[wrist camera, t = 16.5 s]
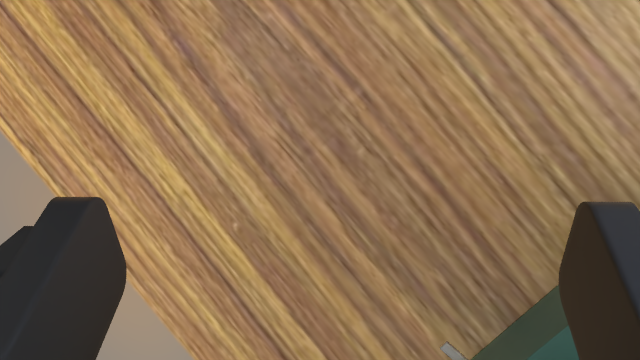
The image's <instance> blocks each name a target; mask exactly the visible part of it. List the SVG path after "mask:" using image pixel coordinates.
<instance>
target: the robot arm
mask: <svg viewBox="0 0 640 360" xmlns="http://www.w3.org/2000/svg"><path fill="white" fill-rule="evenodd" d="M125 283H126V262H125V258H124V255H123V252H122V249H121V246H120V243H119V240H118V237H117V234H116V231H115V229H114V226H113V223H112V220H111V217H110V214H109V211H108V208H107V206H106V204H105V202H104V201H103V199H101V198H99V197H55V198H53V199H52V200H51V201H50V202H49V203H48V205H47V206H46V208H45V210H44V211H43V213H42V214H41V216H40V217H39V219H38V221H37V222H36V224H35V225H34V226H24V227H23V228H21V229H20V230H19V231H18V232H16V233H15V234H14V235H13V236H12V237H10V238H9V239H8V240H7V241H5V242H4V243H3V244H2V245H1V246H0V360H96V357H97V355H98V353H99V350H100V348H101V345H102V343H103V341H104V338H105V335H106V333H107V331H108V329H109V326H110V324H111V321H112V319H113V317H114V314H115V312H116V309H117V307H118V305H119V302H120V300H121V297H122V295H123V292H124V288H125ZM559 292H560V299H561V303H562V306H563V310H564V313H565V316H566V319H567V322H568V325H569V328H570V331H571V335H572V338H573V341H574V344H575V347H576V350H577V353H578V356H579V360H640V212H639V210H638V208H637V207H636V206H635V204H633V203H631V202H582V203H580V205H579V206H578V208H577V210H576V213H575V217H574V220H573V224H572V227H571V231H570V234H569V238H568V241H567V245H566V248H565V252H564V255H563V259H562V262H561V266H560V271H559Z"/></svg>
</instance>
